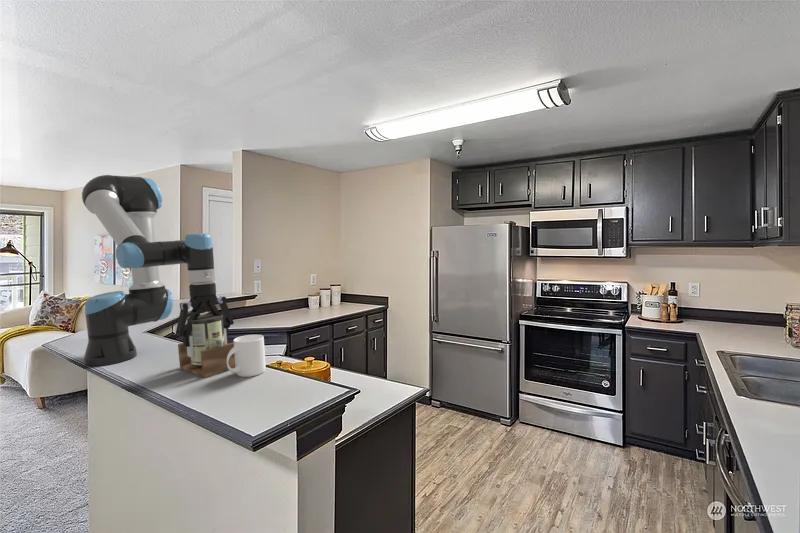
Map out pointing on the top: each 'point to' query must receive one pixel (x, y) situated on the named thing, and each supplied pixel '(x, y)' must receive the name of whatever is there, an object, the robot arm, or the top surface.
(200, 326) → the coffee can
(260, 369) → the mug
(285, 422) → the top surface
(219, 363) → the cradle
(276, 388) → the top surface
